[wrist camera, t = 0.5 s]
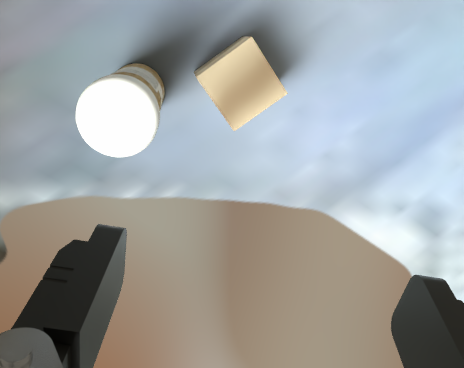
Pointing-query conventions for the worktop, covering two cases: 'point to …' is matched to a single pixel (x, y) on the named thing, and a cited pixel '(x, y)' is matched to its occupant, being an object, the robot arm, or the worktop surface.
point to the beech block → (240, 82)
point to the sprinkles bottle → (121, 111)
